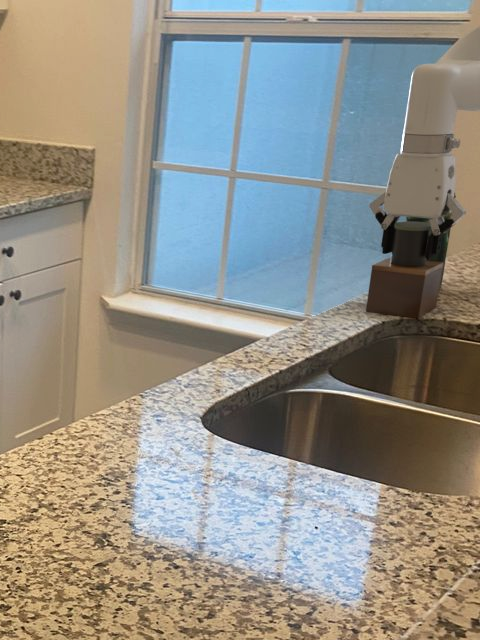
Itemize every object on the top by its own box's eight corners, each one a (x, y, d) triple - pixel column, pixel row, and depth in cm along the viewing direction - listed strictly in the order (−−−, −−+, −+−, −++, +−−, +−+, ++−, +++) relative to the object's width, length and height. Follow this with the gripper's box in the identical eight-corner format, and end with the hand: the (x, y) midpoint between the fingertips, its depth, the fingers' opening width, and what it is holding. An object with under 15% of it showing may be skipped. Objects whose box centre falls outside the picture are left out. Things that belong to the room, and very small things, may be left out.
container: (414, 259, 179) (420, 220, 176) (433, 266, 174) (440, 226, 171) (382, 261, 178) (387, 222, 176) (400, 267, 173) (406, 227, 170)
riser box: (384, 301, 185) (391, 256, 182) (436, 308, 180) (443, 262, 177) (365, 311, 179) (372, 265, 176) (418, 318, 174) (425, 270, 170)
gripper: (489, 146, 165) (469, 258, 172) (386, 141, 176) (371, 246, 184) (470, 150, 160) (450, 265, 167) (364, 144, 172) (350, 252, 179)
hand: (409, 254), depth 175 cm, fingers open, 6 cm apart
